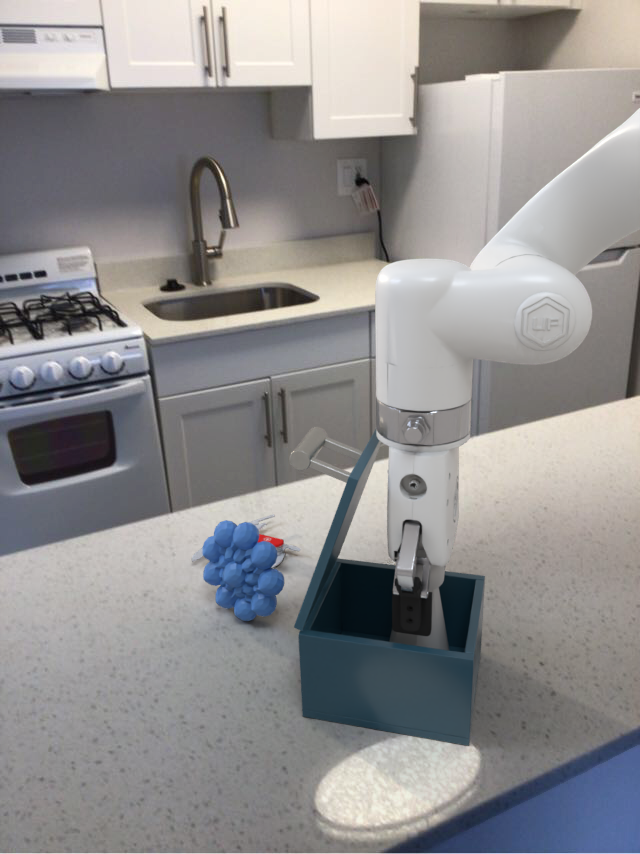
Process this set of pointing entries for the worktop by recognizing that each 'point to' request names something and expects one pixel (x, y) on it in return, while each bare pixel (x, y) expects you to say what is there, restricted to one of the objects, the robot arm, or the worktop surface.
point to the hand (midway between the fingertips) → (420, 600)
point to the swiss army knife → (275, 541)
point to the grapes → (242, 570)
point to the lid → (346, 508)
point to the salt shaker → (438, 625)
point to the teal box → (390, 657)
